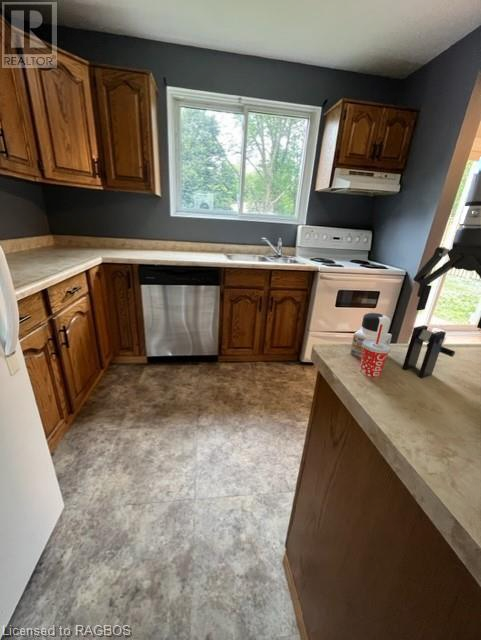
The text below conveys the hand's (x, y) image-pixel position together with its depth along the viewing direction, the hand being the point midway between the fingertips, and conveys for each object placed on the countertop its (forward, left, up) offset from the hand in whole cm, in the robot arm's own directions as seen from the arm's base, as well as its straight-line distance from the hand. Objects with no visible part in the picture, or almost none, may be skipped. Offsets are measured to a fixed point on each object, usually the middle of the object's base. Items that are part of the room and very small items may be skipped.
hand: (448, 317), depth 67 cm
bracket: (+8, +2, -15) cm, 17 cm away
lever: (+5, +1, -7) cm, 9 cm away
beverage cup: (+20, -1, -15) cm, 25 cm away
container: (+13, -9, -15) cm, 22 cm away
